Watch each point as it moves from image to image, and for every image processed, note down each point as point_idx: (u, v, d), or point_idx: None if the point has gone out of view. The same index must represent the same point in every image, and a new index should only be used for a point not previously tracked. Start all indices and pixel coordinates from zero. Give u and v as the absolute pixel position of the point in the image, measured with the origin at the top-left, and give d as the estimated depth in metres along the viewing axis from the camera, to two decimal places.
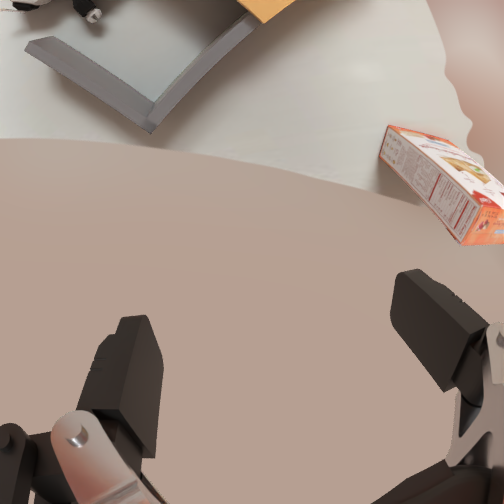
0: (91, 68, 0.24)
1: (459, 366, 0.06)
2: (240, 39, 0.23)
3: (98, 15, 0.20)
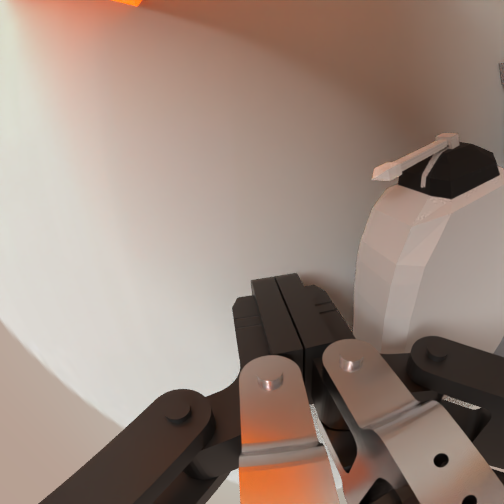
0: None
1: (310, 381, 0.07)
2: None
3: None
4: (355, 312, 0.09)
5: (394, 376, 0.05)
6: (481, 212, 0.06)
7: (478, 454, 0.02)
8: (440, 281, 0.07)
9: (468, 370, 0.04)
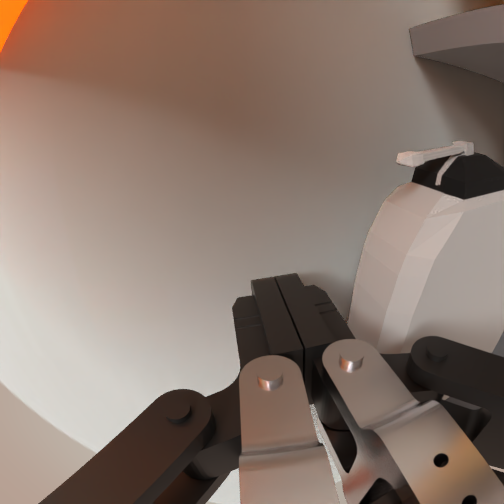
0: None
1: (310, 381, 0.07)
2: None
3: None
4: (352, 306, 0.09)
5: (394, 376, 0.05)
6: (489, 218, 0.06)
7: (478, 454, 0.02)
8: (446, 279, 0.07)
9: (468, 370, 0.04)
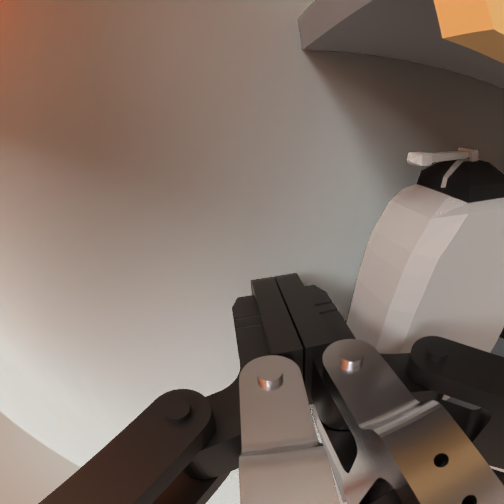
0: None
1: (310, 381, 0.07)
2: None
3: None
4: (353, 304, 0.09)
5: (394, 376, 0.05)
6: (491, 223, 0.06)
7: (478, 454, 0.02)
8: (448, 279, 0.07)
9: (468, 370, 0.04)
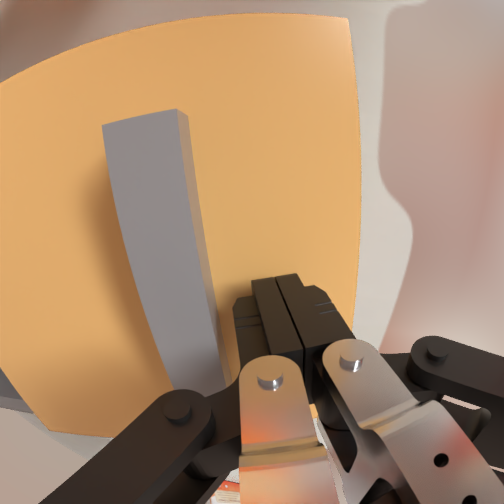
0: None
1: (310, 381, 0.07)
2: None
3: None
4: None
5: (394, 376, 0.05)
6: None
7: (478, 454, 0.02)
8: None
9: (468, 370, 0.04)
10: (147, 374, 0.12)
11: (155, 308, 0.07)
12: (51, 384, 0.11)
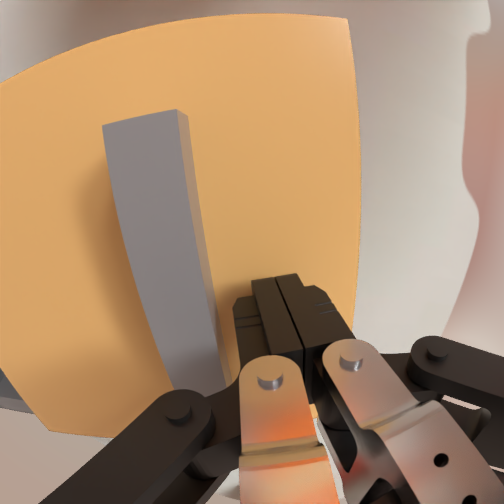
0: None
1: (310, 381, 0.07)
2: None
3: None
4: None
5: (394, 376, 0.05)
6: None
7: (478, 454, 0.02)
8: None
9: (468, 370, 0.04)
10: (147, 374, 0.12)
11: (155, 308, 0.07)
12: (51, 384, 0.11)
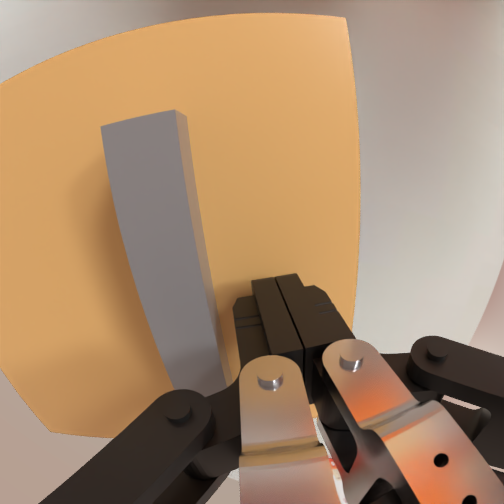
0: None
1: (310, 380, 0.07)
2: None
3: None
4: None
5: (394, 376, 0.05)
6: None
7: (478, 454, 0.02)
8: None
9: (468, 370, 0.04)
10: (148, 375, 0.12)
11: (155, 309, 0.07)
12: (52, 385, 0.11)
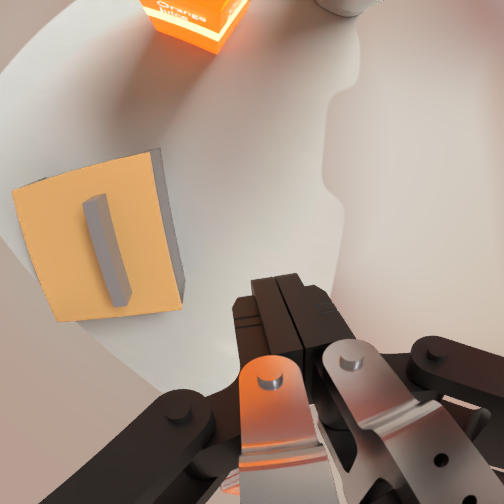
0: None
1: (310, 381, 0.07)
2: None
3: None
4: None
5: (394, 376, 0.05)
6: None
7: (478, 454, 0.02)
8: None
9: (468, 370, 0.04)
10: (100, 278, 0.32)
11: (95, 244, 0.27)
12: (63, 289, 0.32)
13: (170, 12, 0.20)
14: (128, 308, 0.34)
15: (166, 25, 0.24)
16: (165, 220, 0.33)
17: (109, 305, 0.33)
